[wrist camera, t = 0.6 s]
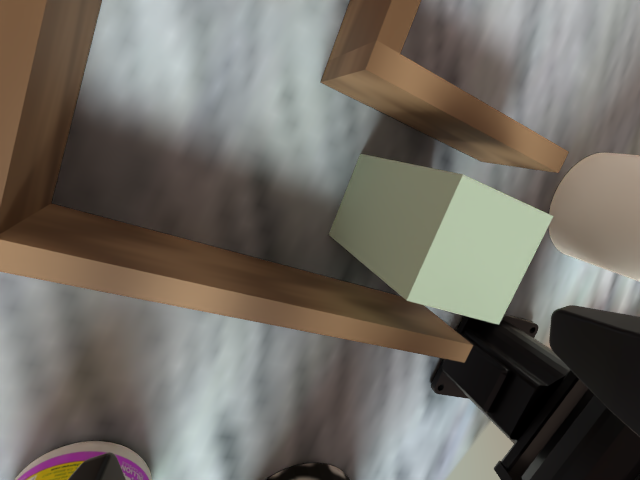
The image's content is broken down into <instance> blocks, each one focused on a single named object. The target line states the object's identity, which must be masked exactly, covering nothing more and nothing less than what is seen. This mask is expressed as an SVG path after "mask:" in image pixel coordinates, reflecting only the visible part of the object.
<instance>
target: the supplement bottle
mask: <svg viewBox="0 0 640 480" xmlns="http://www.w3.org/2000/svg"><path fill="white" fill-rule="evenodd" d="M108 452H111V453H114V454H115V455H116V457H117V459H118V461H119V464H120V466H121V469H122V471H123V474H124V476H125V478H126V480H152V476H151V473H150V470H149V468H148V466H147V464H146V463H145V461H144V460H143V459H142V458H141V457H140V456H139V455H138V454H137V453H135V452H134V451H132V450H131V449H129V448H127V447H125V446H122V445H119V444H115V443H111V442H104V441H85V442H78V443H74V444H70V445H67V446H63V447H60V448H58V449H55V450H53V451H50V452H48V453H46V454H44V455H42V456H41V457H39V458H38V459H36V460H35V461H33V462H32V463H31V464H29V465H28V466H27V467H26V468H25V469H24V470H23V471H22V472H21V473H20V474H19V475H18V476H17V477H16V479H15V480H68V479H69V477H70V476H71V475H72V474H73V473H74V472H75V471H76V469H77V468H78V467H79V466H80V465H81V464H82V463H83V462H84V461H85V460H87V459H89V458H92V457H95V456H99V455H102V454H105V453H108Z"/></svg>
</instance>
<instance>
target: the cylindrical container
mask: <svg viewBox="0 0 640 480" xmlns="http://www.w3.org/2000/svg"><path fill="white" fill-rule="evenodd" d="M549 215H552V216H553V218H552V220H551V222H550V224H549V226H548V228H549V234H550V238H551V240H552V242H553V244H554V246H555V247H556V248H557V250H559V251H560V252H561V253H563V254H565V255H568V256H571V257H573V258H576V259H579V260H582V261H584V262H587V263H590V264H593V265H595V266H598V267H601V268H604V269H606V270H609V271H612V272H615V273H617V274H620V275H623V276H626V277H628V278H631V279H634V280H636V281H639V282H640V155H629V154H616V153H596V154H593V155H590V156H588V157H586V158H584V159H583V160H581V161H579V162H578V163H577V164H576V165H575V166H574V167H572V168H571V170H570V171H569V172H568V173H567V174H566V175H565V177H564V178H563V180H562V181H561V183H560V184H559V186H558V188H557V190H556V192H555V194H554V197H553V200H552V203H551V206H550V211H549Z"/></svg>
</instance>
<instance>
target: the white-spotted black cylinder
mask: <svg viewBox="0 0 640 480" xmlns="http://www.w3.org/2000/svg"><path fill="white" fill-rule="evenodd" d="M266 480H350V479H349V478H348V476H347V475H346V474H345V473H344V472H343V471H341V470H340V469H338V468H337V467H334V466H331V465H328V464H322V463H308V464H301V465H297V466H293V467H290V468H287V469H285V470H282V471H280V472H278V473H276V474H274V475H273V476H271V477H269V478H267V479H266Z"/></svg>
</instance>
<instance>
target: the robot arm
mask: <svg viewBox="0 0 640 480" xmlns="http://www.w3.org/2000/svg"><path fill="white" fill-rule="evenodd" d="M537 331H538V325H537V324H535V323H533V322H532V321H528V320H525V319H521V318H518V317H514V316H511V315H507V314H504V316H503V318H502V320H501V322H500V324H499V325H498V324H494V323H490V322H486V321H483V320H479V319H475V318H471V317H467V316H464V317H463V319H462V321H461V323H460V325H459V327H458V329H457V331H456V332H457V333H459V334H460V335H461V336H462V337H464V338H465V339H466V340H467V341H469V342H470V343H471V344H472V345H473V347H472V349H471V351H470V353H469V355H468V357H467V359H466V361H465V363H464V362H459V361H454V360H449V359H444V358H443V360H442V363H441V365H440V367H439V369H438V371H437V373H436V375H435V377H434V379H433V381H432V384H431V388H432V389H433V390H434V392H435V393H437V394H442V395H449V396H455V397H462V398H469V399H470V400H471V401H472V402H473V403H474V404H475V405H476V406H477V407H478V408H479V409H480V410H481V411H482V412H483V413H484V414H485V415H486V416H487V417H488V418H489V419H490V420H491V421H492V422H493V423H494V424H495V425H496V426H497V427H498V428H499V429H500V430H501V431H502V432H503V433H504V434H505V435H506V436H507V437H508V438H509V439H510V440H511V441H512V442H513V443H514V445H513V446H512V448H511V449H510V450H509V452H508V453H507V454H506V456H505V457H504V458H503V460H502V461H499V462H498V463H497V464H496V466H495V467H494V470H495V471H496V473H497V474H498V476H499V477H500V479H501V480H640V317H637V316H632V315H626V314H620V313H614V312H609V311H603V310H597V309H591V308H585V307H580V306H573V305H572V306H566V307H563V308H560V309H557V310H555V311H554V312H553V314H552V316H551V327H550V340H549V342H550V346H551V349H552V350H551V349H550V348H548V347H547V346H545V345H543V344H542V343H540V342H539V341H537V340H536V339H534V337H535V335H536V333H537ZM68 480H126V478H125V476H124V474H123V471H122V469H121V466H120V464H119V461H118V459H117V457H116V455H115V454H114V453H111V452H108V453H105V454H102V455H99V456H95V457H92V458H89V459H87V460H85V461H84V462H83V463H82V464H81V465H80V466H79V467H78V468H77V469H76V471H75V472H74V473H73V474H72V475H71V476H70V477H69V479H68Z"/></svg>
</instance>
